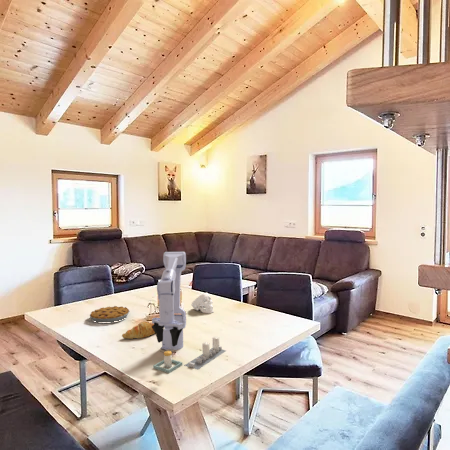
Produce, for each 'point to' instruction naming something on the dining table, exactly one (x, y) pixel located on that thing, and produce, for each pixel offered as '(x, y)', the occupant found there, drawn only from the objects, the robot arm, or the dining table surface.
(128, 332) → the croissant
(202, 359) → the fuse panel
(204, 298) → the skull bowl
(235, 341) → the dining table surface
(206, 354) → the fuse middle
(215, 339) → the fuse far
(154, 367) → the tray
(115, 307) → the pie
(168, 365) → the cylinder
